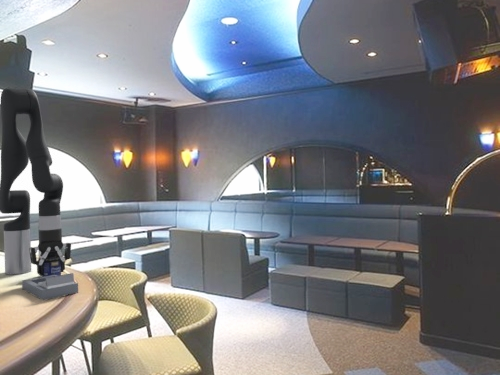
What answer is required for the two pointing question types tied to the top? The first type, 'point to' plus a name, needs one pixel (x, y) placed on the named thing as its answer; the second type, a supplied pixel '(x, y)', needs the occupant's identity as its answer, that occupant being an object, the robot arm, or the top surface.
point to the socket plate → (44, 293)
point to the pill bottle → (52, 264)
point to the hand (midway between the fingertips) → (51, 273)
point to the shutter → (57, 281)
